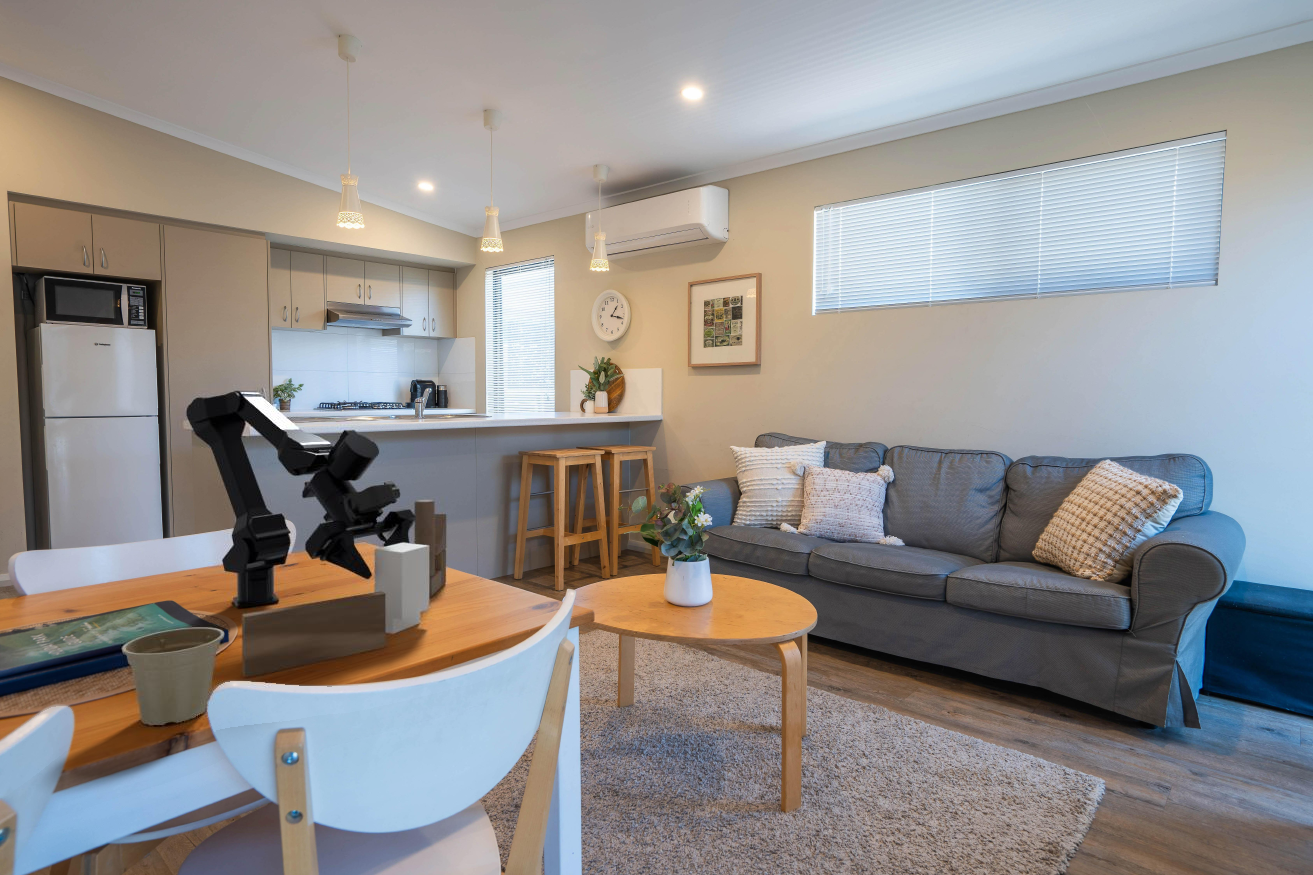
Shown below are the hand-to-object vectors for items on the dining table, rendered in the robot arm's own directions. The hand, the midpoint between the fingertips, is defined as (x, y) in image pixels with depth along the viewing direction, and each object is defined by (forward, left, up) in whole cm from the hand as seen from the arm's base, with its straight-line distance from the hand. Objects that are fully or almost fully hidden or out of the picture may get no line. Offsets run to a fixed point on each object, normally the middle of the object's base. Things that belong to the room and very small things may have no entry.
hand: (392, 571), depth 109 cm
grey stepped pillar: (-18, +13, -9) cm, 24 cm away
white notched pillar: (+2, +1, -9) cm, 9 cm away
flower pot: (+18, -29, -9) cm, 36 cm away
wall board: (+9, -13, -9) cm, 18 cm away
